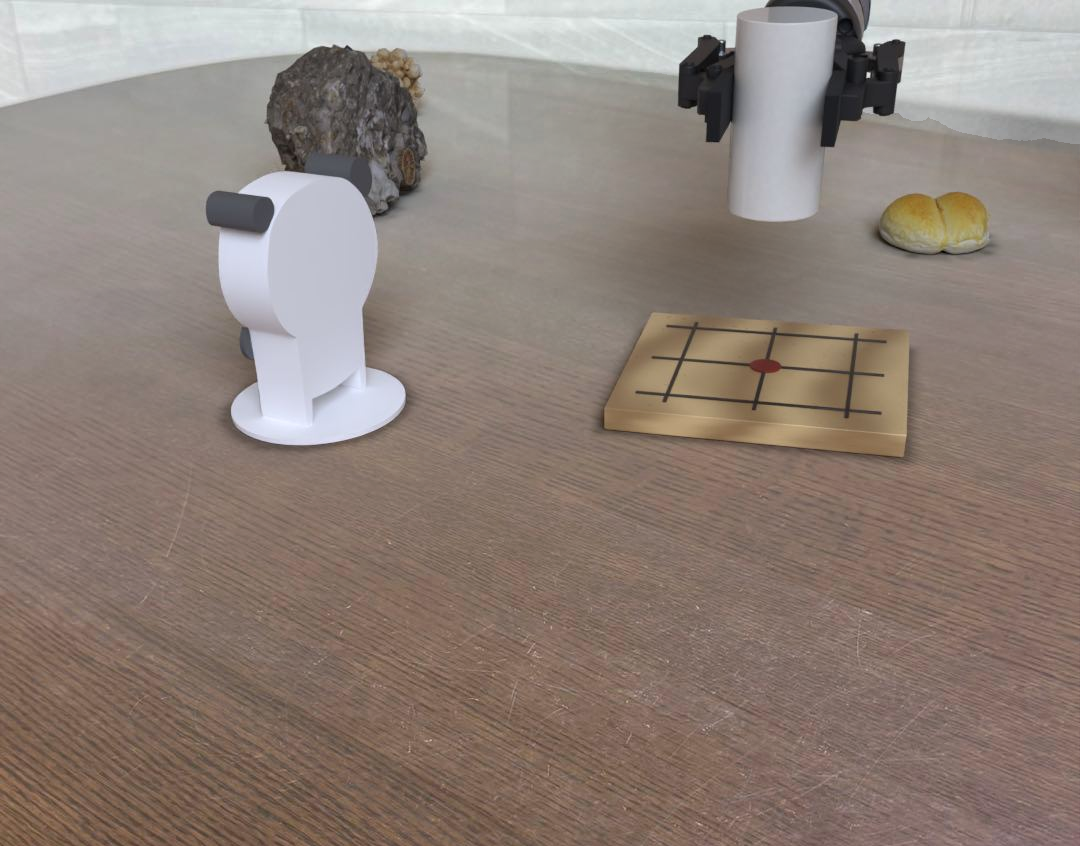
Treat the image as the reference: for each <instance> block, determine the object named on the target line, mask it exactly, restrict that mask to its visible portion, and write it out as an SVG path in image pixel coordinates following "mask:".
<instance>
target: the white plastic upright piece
mask: <svg viewBox="0 0 1080 846" xmlns="http://www.w3.org/2000/svg"><path fill="white" fill-rule="evenodd" d="M371 187H372V173H371V169H370V166H369V164H368V162H367V161H366V160H365V159H363V158H360V157H352V156H343V155H334V154H325V153H317V152H313V153H311V154H310V155H309V157H308V159H307V161H306V164H305V173H299V172H291V171H285V170H284V171H275V172H270V173H267V174H265V175H262V176H260V177H259V178H257V179H255V180H253V181H251V182H250V183H248V184H247V185H245V186H244V187H242V188H241V190H239V191H238V192H233V191H226V190H215V191H213V192H211V193H209V195H208V196H207V197H206V202H205V215H206V220H207V223H208V224H209V225H210V226H213V227H219V228H220V229H219V230H220V231H219V236H218V237H219V238H218V275H219V283H220V288H221V292H222V295H223V298H224V301H225V304H226V305H227V308H228V309H229V311H230V313H231V314H232V316H233V317H234V318H235V319H236V320H237V321H238V322H239V323H240V324H241V325H242V327H241V329H240V332H239V333H240V334H239V339H238V340H239V344H238V345H239V349H240V352H241V354H242V355H243V356H244V357H245V358H246V359H247V360H250V361H254V365H255V371H256V378H257V381H256V382H254V383H252V384H250V385H249V386H247V387H246V388H244V389H243V390H242V391H241V392H240V393H239V394H238V395H237V396H236V397H235V398H234V400H233V402H232V404H231V406H230V414H231V420H232V422H233V424H234V426H235V427H236V428H237V429H238V430H239V431H240V432H242V434H245V435H246V436H249V437H251V438H252V439H254V440H255V439H256V440H258V441H262V442H265V443H270V444H278V445H283V446H284V445H286V446H314V445H323V444H324V445H325V444H332V443H338V442H343V441H347V440H351V439H354V438H358V437H361V436H364V435H367V434H370V433H372V432H374V431H376V430H378V429H380V428H382V427H385V426H386V425H388V424H389V423H391V422H392V421H394V419H396V417H398V416H399V415H400V413H401V412H402V411H403V410H404V408H405V405H406V403H407V396H406V389H405V387H404V385H403V384H402V382H401V381H400V380H399V379H397V378H396V377H395V376H393V375H391V374H390V373H388V372H385V371H383V370H379V369H376V368H373V367H368V366H366V355H365V353H366V352H365V338H364V320H363V307H364V304H365V303H366V300H367V299H368V296H369V294H370V291H371V288H372V285H373V282H374V278H375V275H376V269H377V263H378V256H379V242H378V234H377V228H376V224H375V221H374V217H373V214H371V212H370V210H369V207H368V205H367V203H366V201H365V199H364V197H366V196H367V195H368V194H369V193H370V190H371Z"/></svg>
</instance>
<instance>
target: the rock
mask: <svg viewBox="0 0 1080 846" xmlns="http://www.w3.org/2000/svg"><path fill="white" fill-rule="evenodd" d="M369 60H370V59H369V58H368V56H367V55H366V53H365V51H362V50H356V49H354V48H352V47H351V46H350V45H349V44H346V45H345V46H344V47H341V46H339V45H338V44H334V43H333V44H332V46H331V47H329V46H326V45H319V46H316V47H313V48H312V49H311V50H309V51H307V52H306V53H304V54H303V55H301V56H300V57H298V58H297V59H296V60H295V61H294V62H293V63H292V64H291V65H290V66H288V67H287V68H286V69H284V70H282V71H280V72H278V73H276V76H275V79H274V80H275V81H274V84H273V86H272V87H271V94H269V99H268V100H269V101H268V103H267V104H266V119H265V120H264V122H263V124H266V125H267V126H268V131H269V133H270V135H271V141H272V143H273V144H274V146H275V147H276V150H277V153H278V155H279V158H280V163H281V165H282V166H285V168H284V171H291V172H299V173H305V164H306V161H307V159H308V157H309V155H310V154H311V153H313V152H317V153H325V154H334V155H343V156H352V157H360V158H363V159H365V160H366V161H367V162H368V164H369V166H370V169H371V173H372V187H371V190H370V193H369V194H368V195H367V196H366V197H364V199H365V201H366V203H367V205H368V207H369V210H370V212H371V215H372V216H375V215H376V214H383V213H384V212H385V211H386V210H388V209H390V206H392V205H393V204H394V203H396V202H397V201H399V198H400V192H401V191H410V190H413V189H414V188H415V187H416V186H417V184H418V183H421V182H422V177H421V173H420V172H421V171H422V170H423V168H422V165H421V162H425V161H426V160H425V159H426V158H425V156H427V155H428V154H429V152H428V146H427V143H426V137H425V134H424V132H423V131H422V130H421V128H419V122H418V109H417V110H416V107H415V105H414V104H413V100H412V96H411V94H410V92H409V91H408V89H407V87H400V81H399V78H398V77H395V76H394V75H393V73H391V72H388V71H386V70H377V69H376V67H375V66H373V65H372V64H371V63H370V62H369Z"/></svg>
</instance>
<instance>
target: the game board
mask: <svg viewBox="0 0 1080 846" xmlns="http://www.w3.org/2000/svg"><path fill="white" fill-rule="evenodd" d="M910 337H911V330H907V329H906V330H905V329H893V328H882V327H881V328H880V327H866V326H853V325H837V324H826V323H825V324H823V323H821V324H820V323H812V322H811V323H810V322H795V321H783V320H782V321H779V320H769V319H768V320H767V319H752V318H738V317H724V316H711V315H697V314H695V315H694V314H682V313H681V314H680V313H669V312H667V313H666V312H655V311H654V312H651V313H650V316H649V318H648V319H647V322H646V324H645V325H644V328H643V329H642V332H641V334H640V336H639V337H638V338H639V339H638V340H637V341H636V343H635V345H634V347H633V350H632V352H631V354H630V355H629V358H628V360H627V361H626V364H625V366H624V368H623V370H622V372H621V374H620V375H619V378H618V380H617V382H616V384H615V387H614V388H613V390H612V392H611V394H610V396H609V398H608V400H607V401H606V404H605V405H604V407H603V412H604V413H603V428H604V430H609V431H619V432H631V433H639V434H641V433H642V434H652V435H660V436H661V435H662V436H673V437H682V438H693V439H694V438H695V439H705V440H714V441H715V440H716V441H726V442H737V443H746V444H758V445H766V446H767V445H768V446H769V445H770V446H778V447H789V448H800V449H809V450H821V451H831V452H840V453H841V452H842V453H853V454H862V455H874V456H884V457H885V456H886V457H893V458H895V457H896V458H904V456H905V450H906V443H907V437H908V408H909V407H908V405H909V374H910V373H909V372H910V371H909V370H910V368H909V366H910V342H911V341H910V340H911V339H910Z"/></svg>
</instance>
